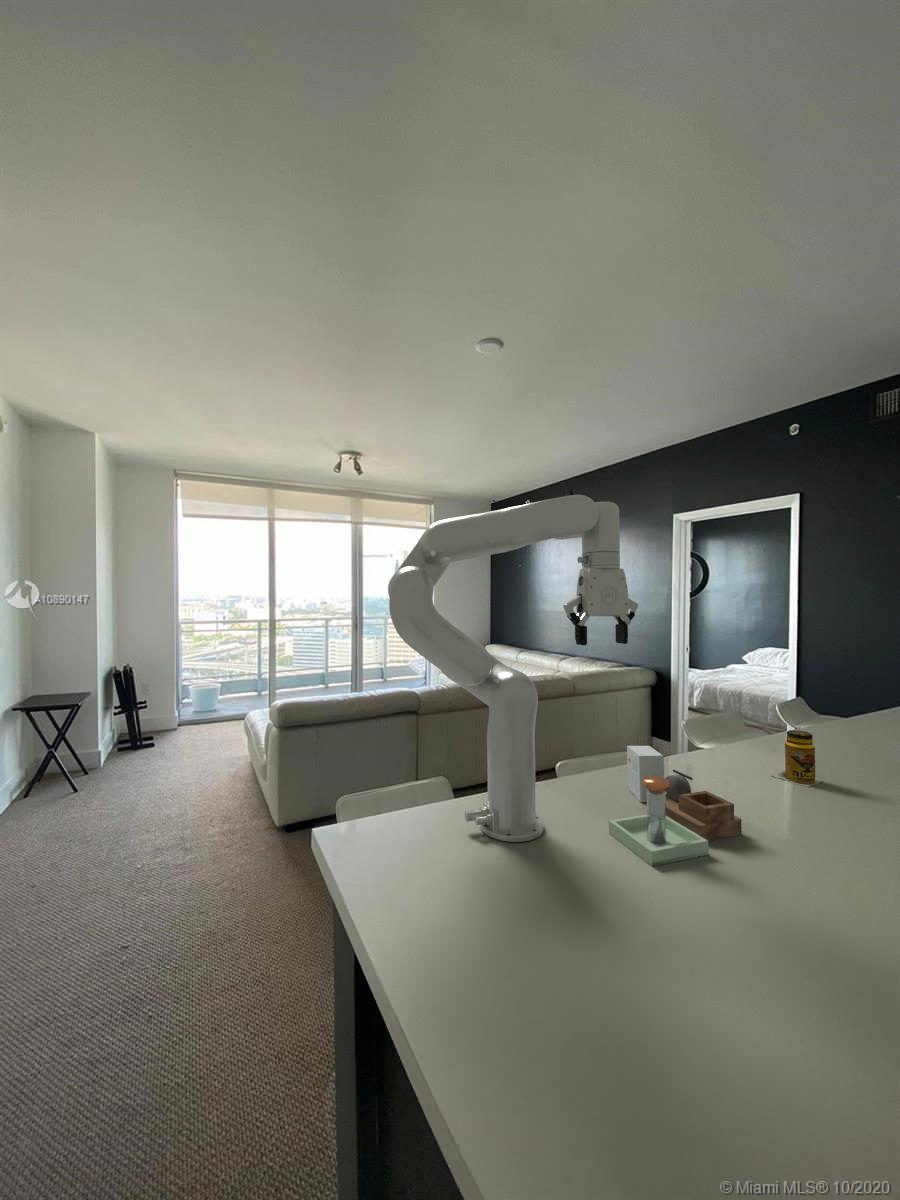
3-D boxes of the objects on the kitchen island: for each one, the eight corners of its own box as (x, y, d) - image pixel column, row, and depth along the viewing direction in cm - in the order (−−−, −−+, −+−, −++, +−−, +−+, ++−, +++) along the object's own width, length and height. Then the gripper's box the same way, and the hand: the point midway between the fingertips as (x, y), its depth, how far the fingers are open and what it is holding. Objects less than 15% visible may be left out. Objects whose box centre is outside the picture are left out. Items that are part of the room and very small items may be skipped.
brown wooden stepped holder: (699, 842, 88) (699, 797, 88) (648, 810, 101) (647, 772, 101) (741, 834, 91) (740, 791, 91) (686, 804, 104) (685, 767, 104)
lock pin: (655, 848, 85) (654, 786, 85) (638, 836, 89) (638, 777, 89) (675, 844, 86) (674, 783, 86) (658, 833, 90) (657, 774, 90)
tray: (651, 866, 80) (651, 851, 80) (609, 833, 92) (608, 820, 92) (708, 855, 83) (708, 840, 83) (660, 824, 95) (660, 812, 95)
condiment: (808, 787, 113) (807, 737, 113) (770, 776, 121) (769, 729, 121) (823, 781, 117) (822, 733, 117) (786, 771, 124) (785, 725, 124)
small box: (665, 802, 105) (664, 755, 105) (639, 802, 105) (639, 755, 106) (650, 788, 113) (650, 745, 113) (627, 788, 113) (626, 745, 114)
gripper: (573, 560, 92) (575, 647, 92) (647, 561, 97) (648, 644, 97) (555, 563, 100) (555, 644, 100) (624, 564, 105) (625, 641, 104)
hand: (601, 644), depth 98 cm, fingers open, 9 cm apart
